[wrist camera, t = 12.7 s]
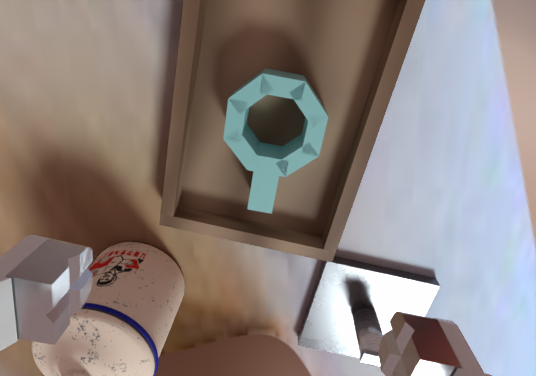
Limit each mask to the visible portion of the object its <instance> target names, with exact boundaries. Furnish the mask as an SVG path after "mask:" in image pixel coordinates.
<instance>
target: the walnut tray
mask: <svg viewBox="0 0 536 376" xmlns="http://www.w3.org/2000/svg"><path fill="white" fill-rule="evenodd" d="M424 2H425V0H183V9H182V19H181V28H180V37H179V47H178V56H177V65H176V75H175V84H174V93H173V103H172V112H171V121H170V131H169V140H168V149H167V159H166V168H165V177H164V187H163V196H162V205H161V215H160V224H159V225H164V226H168V227H173V228H177V229H182V230H187V231H191V232H196V233H200V234H205V235H209V236H214V237H218V238H223V239H228V240H232V241H237V242H241V243H246V244H250V245H255V246H260V247H264V248H269V249H273V250H278V251H282V252H287V253H292V254H296V255H301V256H305V257H310V258H314V259H319V260H324V261H328V262H333V259H334V256H335V253H336V250H337V247H338V245H339V242H340V239H341V236H342V233H343V231H344V228H345V225H346V222H347V219H348V216H349V214H350V211H351V208H352V205H353V202H354V200H355V197H356V194H357V191H358V188H359V185H360V183H361V180H362V177H363V174H364V171H365V169H366V166H367V163H368V160H369V157H370V155H371V152H372V149H373V146H374V143H375V140H376V138H377V135H378V132H379V129H380V126H381V124H382V121H383V118H384V115H385V112H386V109H387V107H388V104H389V101H390V98H391V95H392V93H393V90H394V87H395V84H396V81H397V78H398V76H399V73H400V70H401V67H402V64H403V62H404V59H405V56H406V53H407V50H408V47H409V45H410V42H411V39H412V36H413V33H414V31H415V28H416V25H417V22H418V19H419V17H420V14H421V11H422V8H423V5H424ZM265 68H267V69H272V70H278V71H283V72H289V73H294V74H299V75H304V76H305V78H306V79H307V81H308V82H309V84H310V85H311V87H312V89H313V90H314V92H315V93H316V95H317V96H318V98H319V100H320V101H321V103H322V104H323V106H324V107H325V110H326V112H327V115H328V121H327V125H326V129H325V133H324V138H323V142H322V146H321V150H320V154H319V157H317V158H316V159H314V160H312V161H311V162H309V163H308V164H306V165H304V166H303V167H301V168H300V169H298V170H296V171H295V172H293V173H291V174H290V175H288V176H287V177H282V176H279V180H278V185H277V190H276V195H275V200H274V205H273V210H272V214H271V213H265V212H260V211H254V210H249V209H247V208H248V202H249V196H250V190H251V184H252V178H253V172H254V171H249V170H247V169H246V168H245V167H244V165H243V164H242V163H241V161H240V160H239V159H238V157H237V156H236V155H235V154H234V152H233V151H232V150H231V148H230V147H229V146H228V144H227V143H226V142H225V141H224V139H223V137H224V129H225V121H226V113H227V104H228V98H229V97H230V96H231V95H232V94H233V93H234V91H236V90H237V89H238V88H240V87H241V86H242V85H244V84H245V83H246V82H248V81H249V80H250V79H252V78H253V77H255V76H256V75H257V74H259V73H260V72H261V71H263V70H264V69H265ZM304 121H305V116H304V114H303V113H302V111H301V110H300V108H299V107H298V105H297V104H296V102H295V101H294V99H289V98H284V97H278V96H273V95H268V94H267V95H266V96H264V97H263V98H261V99H260V100H259V101H257V102H256V103H254V104H253V105H252V106H250V108H249V115H248V121H247V124H248V126H249V127H250V129H251V130H252V131H253V133H254V134H255V135H256V137H257V138H258V139H259V141H260V142H262V143H267V144H273V145H278V146H284V145H286V144H287V143H289V142H290V141H292V140H293V139H295V138H296V137H298V136H299V135H301V134H302V131H303V126H304Z"/></svg>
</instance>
